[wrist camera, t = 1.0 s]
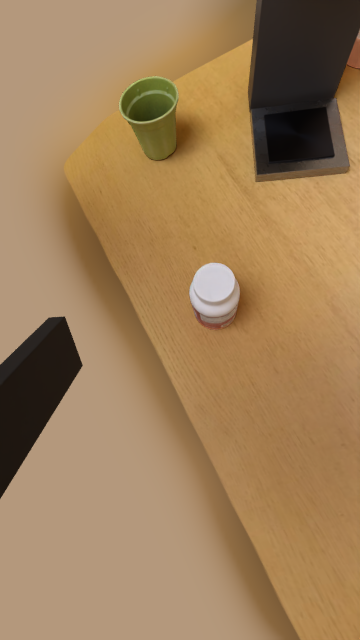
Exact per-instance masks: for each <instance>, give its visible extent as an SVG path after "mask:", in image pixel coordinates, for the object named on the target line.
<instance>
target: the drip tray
mask: <svg viewBox="0 0 360 640" xmlns="http://www.w3.org/2000/svg"><path fill="white" fill-rule="evenodd" d="M250 122H251V133H252V145H253V156H254V168H255V180H256V182H260V181H271V180H281V179H291V178H301V177H311V176H322V175H332V174H342V173H346V171H347V170H348V168H349V166H350V165H349V160H348V155H347V150H346V145H345V140H344V135H343V130H342V124H341V119H340V114H339V109H338V104H337V99H336V98H332V99H325V100H317V101H309V102H302V103H294V104H287V105H279V106H272V107H264V108H256V109H251V114H250Z"/></svg>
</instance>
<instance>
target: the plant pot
mask: <svg viewBox="0 0 360 640" xmlns="http://www.w3.org/2000/svg"><path fill="white" fill-rule="evenodd" d="M177 102H178V90H177V87H176V85H175V84H174V83H173V82H172V81H170V80H169V79H166V78H163V77H156V76H154V77H147V78H143V79H140V80H138V81H136V82H134V83H133V84H131V85H130V86H129V87H128V88H127V89H126V90H125V91H124V92H123V94H122V96H121V98H120V101H119V109H120V112H121V114H122V116H123V117H124V119H126V120H127V121H128V123H129V124H130V125H131V126H132V128H133V130H134V132H135V134H136V136H137V138H138V140H139V142H140V145H141V147H142V149H143V151H144V153H145V154H146V155H147V156H148V157H149V158H150V159H153V160H162V159H165V158H167V156H168V155H170V154H171V153H173V152H174V151H175V149H176V118H175V112H176V105H177Z"/></svg>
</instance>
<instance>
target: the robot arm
mask: <svg viewBox="0 0 360 640" xmlns="http://www.w3.org/2000/svg"><path fill="white" fill-rule="evenodd" d="M81 367H82V362H81V360H80V357H79V354H78V351H77V349H76V346H75V343H74V340H73V338H72V335H71V332H70V329H69V327H68V324H67V321H66V318H65V317H52V318H48V319H47V320H46V321H45V322H44V323H43V324H42V325H41V326H40V327H39V328H38V329H37V330H36V331H35V332H34V333H33V334H32V335H31V336H29V337H28V338H27V339H26V340H25V341H24V342H23V343H22V344H21V345H20V346H19V347H18V348H17V349H16V350H15V351H14V352H13V353H12V354H11V355H10V356H9V357H8V358H7V359H6V360H5V361H4V362H3V363H2V364H1V365H0V498H1V497H2V495H3V493H4V492H5V490H6V489H7V487H8V485H9V484H10V482H11V481H12V479H13V477H14V476H15V474H16V473H17V471H18V469H19V468H20V466H21V464H22V463H23V461H24V460H25V458H26V456H27V455H28V453H29V451H30V450H31V448H32V447H33V445H34V443H35V442H36V440H37V438H38V437H39V435H40V434H41V432H42V430H43V429H44V427H45V426H46V424H47V422H48V421H49V419H50V417H51V416H52V414H53V413H54V411H55V409H56V408H57V406H58V405H59V403H60V401H61V400H62V398H63V396H64V395H65V393H66V392H67V390H68V388H69V387H70V385H71V383H72V382H73V380H74V379H75V377H76V375H77V374H78V372H79V371H80V369H81Z"/></svg>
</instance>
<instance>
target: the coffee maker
mask: <svg viewBox="0 0 360 640" xmlns="http://www.w3.org/2000/svg"><path fill="white" fill-rule="evenodd" d="M359 30H360V0H257V4H256V14H255V25H254V35H253V45H252V56H251V66H250V77H249V87H248V98H249V110H250V113H251V109H256V108H264V107H272V106H279V105H287V104H294V103H302V102H309V101H317V100H325V99H332V98H334V95H335V93H336V90H337V87H338V85H339V82H340V80H341V77H342V74H343V72H344V69H345V67H346V64H347V61H348V59H349V56H350V54H351V51H352V48H353V46H354V43H355V41H356V38H357V35H358V33H359Z"/></svg>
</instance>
